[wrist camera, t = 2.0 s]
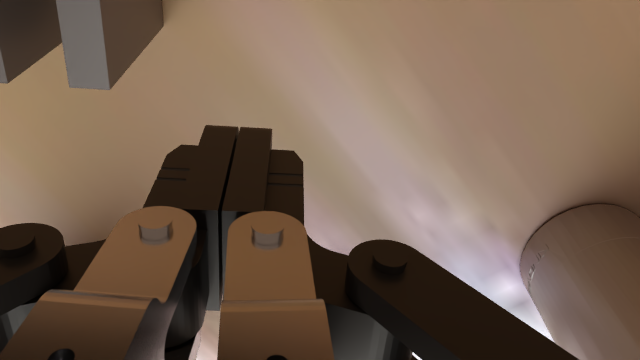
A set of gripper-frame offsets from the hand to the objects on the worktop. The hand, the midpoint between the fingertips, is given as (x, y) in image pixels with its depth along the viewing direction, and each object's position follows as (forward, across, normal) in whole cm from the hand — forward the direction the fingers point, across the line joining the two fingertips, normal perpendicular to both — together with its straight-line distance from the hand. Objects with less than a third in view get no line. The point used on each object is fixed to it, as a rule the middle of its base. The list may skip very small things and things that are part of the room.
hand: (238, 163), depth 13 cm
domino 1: (+20, +7, 0) cm, 21 cm away
